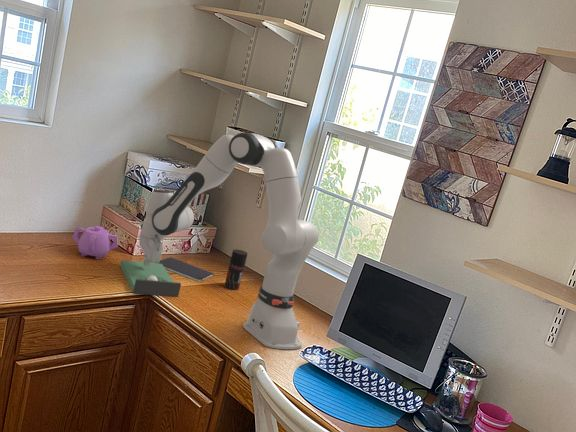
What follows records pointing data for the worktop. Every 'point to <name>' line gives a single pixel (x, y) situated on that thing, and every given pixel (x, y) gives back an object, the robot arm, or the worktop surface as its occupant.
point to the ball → (152, 278)
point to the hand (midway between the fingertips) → (146, 265)
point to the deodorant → (235, 269)
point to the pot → (94, 241)
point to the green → (140, 284)
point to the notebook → (185, 269)
